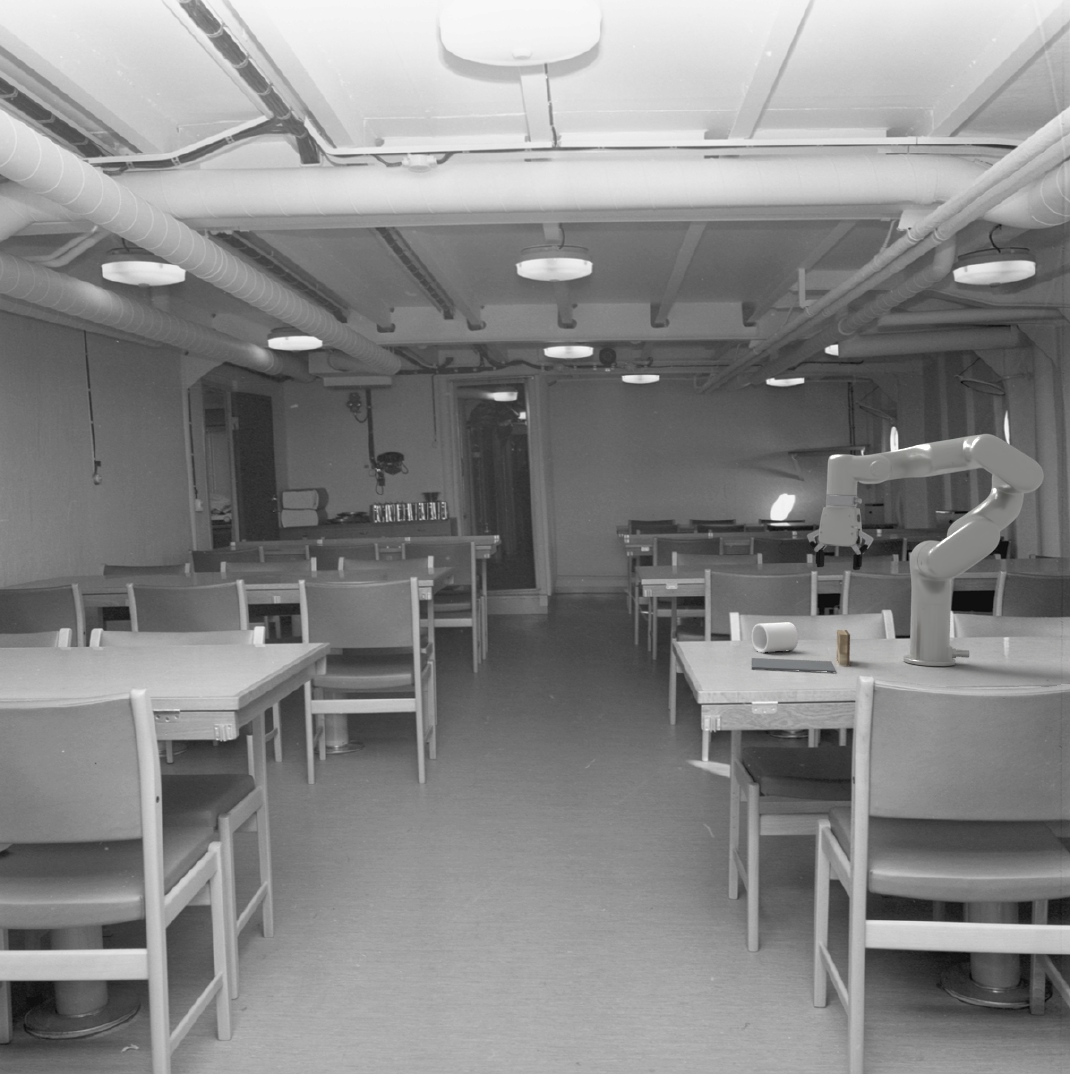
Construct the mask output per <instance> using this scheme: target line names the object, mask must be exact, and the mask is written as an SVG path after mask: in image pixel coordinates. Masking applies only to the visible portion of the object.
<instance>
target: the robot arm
mask: <svg viewBox="0 0 1070 1074" xmlns="http://www.w3.org/2000/svg"><path fill="white" fill-rule="evenodd" d="M976 469H984V470H985V471H987V472H988V473H990V474H991V490H990V493H989V495H988V496H987V497H986V499H985V500H983V501H982V502H980V503H979V504H978V505H977V506H976V507H974V508H972V509H971V510H970V511H969V512H967V513H965V514H964V515H962V516H961V517H960V518H958V519H956V520H955V521H954V522H952V524H951V525H949V527H948V529H947V533H946V537H945V538H944V539H942V540H941V541H939V540H924V541H921V542H920V543H919V544H917V545H916V546H915V547H914V548H913V549H912V551H911V553H910V558H909V571H910V580H911V582H910V583H911V594H910V595H911V597H910V598H911V599H910V631H909V635H910V637H909V642H910V643H909V654H906V655H903V662H905V663H908V664H912V665H917V666H927V667H928V666H929V667H950V666H955V665H956V663H957V661H956V658H966V659H969V658H970V650H969V649H956V648H953V646H951V645H950V644H951V643H950V641H951V613H952V612H951V610H952V609H951V607H952V589H951V588H952V587H951V580H953V579H956V578H958V577H959V576H961V575H962V574H963V573H965V572H966V571H968V570H969V569H971V568H972V567H974V566H975V565H976V564H978V563H980V562H981V561H982V560H984V559H985V558H987V557H989V555H990V554H991V553H993V551H994V550H996V549H997V547H998V545H999V544H1000V540H1001V532H1002V530H1004V529H1006V528H1007V527H1008V526H1009V525H1010V524H1012V522H1014V521H1015V520H1016V519H1017V518H1018V517H1019V515H1020V513H1021V510H1022V507H1023V503H1024V495H1025V494H1029V493H1032V492H1034V491H1037V489H1038V488H1039V487H1040V486H1041V485H1042V484H1043V481H1044V478H1045V477H1044V476H1045V475H1044V471H1043V468H1042V466H1041V465H1040V464H1039V463H1038V462H1037V460H1036V459H1033V458H1032V457H1030V456H1028V455H1027V454H1026V453H1024V452H1022V451H1020V450H1019V449H1018V448H1016V447H1015V446H1013V445H1011V444H1009V442H1006V441H1005V440H1003V439H1001V438H1000V437H997V436H996V435H993V434H990V433H983V434H977V435H976V434H975V435H968V436H962V437H958V438H957V437H956V438H953V439H946V440H945V439H944V440H940V441H933V442H927V443H921V444H917V445H913V446H909V447H906V448H901V449H896V450H891V451H886V452H879V453H873V454H872V453H871V454H866V455H865V454H864V455H854V454H847V453H846V454H843V453H840V454H838V453H836V454H831V455H830V456H829V457H828V460H827V475H826V496H825V497H826V498H825V506H824V507H823V508H822V511H821V512H822V513H821V516H820V522H819V528H818V529H815V530H814V531H812V532H809V533H808V534H807V535H806V537H807V540H808V542H809V544H810V546H811V547H812V548H813V551H814V552H815V564H816V567H817V568H824V567H825V553H826V552H825V551H824V549H825V548H827V547H828V546H832V547H833V546H835V547H851V548H852V550H853V551H854V552H855V553H854V554H853V557H852V558H853V559H852V563H853V564H852V569H853V571H859V570H861V567H862V565H863V555H864V554H865V552H867V550H869V549H870V546H871V545H872V544H873V541H874V537H872V536H871V535H869V534H867V533H866V532H864V531H863V528H862V516H861V515H862V514H861V510H860V507H859V508H857V506H858V505H859V504H860V505H861V504H862V503H863V500H862V498H859V496H858V482H859V483H860V484H863V485H876V484H881V483H883V482H885V481H892V480H897V479H905V478H908V479H909V478H926V477H927V478H928V477H934V476H940V475H945V474H950V473H957V472H963V471H969V470H976ZM817 536H818V542H817V541H816V537H817ZM863 539H864V544H862V541H863Z"/></svg>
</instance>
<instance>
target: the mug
mask: <svg viewBox="0 0 1070 1074" xmlns="http://www.w3.org/2000/svg"><path fill="white" fill-rule="evenodd" d="M797 630H798V629H797V628H796V625H794V624H793V623H792V622H789V621H787V622H786V621H785V622H766V623H765V622H764V623H757V624H755V625H754V626H753V628H752V631H751V634H750V635H751V644H752V646H753V649H754V650H755V651H756V652H757V651H758V653H759V652H762V653H761V654H766V653H765V652H768V653H776V652H775V651H783V652H787V651H786V650H792V651H794V650H795V649H796V647H797V645H798V641H799V632H798V631H797Z"/></svg>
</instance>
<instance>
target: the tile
mask: <svg viewBox="0 0 1070 1074" xmlns="http://www.w3.org/2000/svg"><path fill="white" fill-rule="evenodd" d="M850 647H851V634H850V633H849V631H848V630H847V629H837V630H836V659H837V660H836V662H837V661H838V662H837V664H838V663H839V664H838V666H839V665H849V666H850V661H851V660H850V656H851V655H850V653H851V652H850V651H851V648H850Z"/></svg>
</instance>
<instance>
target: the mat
mask: <svg viewBox="0 0 1070 1074" xmlns="http://www.w3.org/2000/svg"><path fill="white" fill-rule="evenodd" d="M754 669H768V670H767V671H776V670H799V671H827V672H836V673H837V670H836V668H835V666H834V664H833V661H831V660H811V659H808V660H807V659H790V658H789V659H787V658H786V659H785V658H782V659H781V658H768V657H767V658H764V657H763V658H762V657H761V658H760V657H751V670H754Z"/></svg>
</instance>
